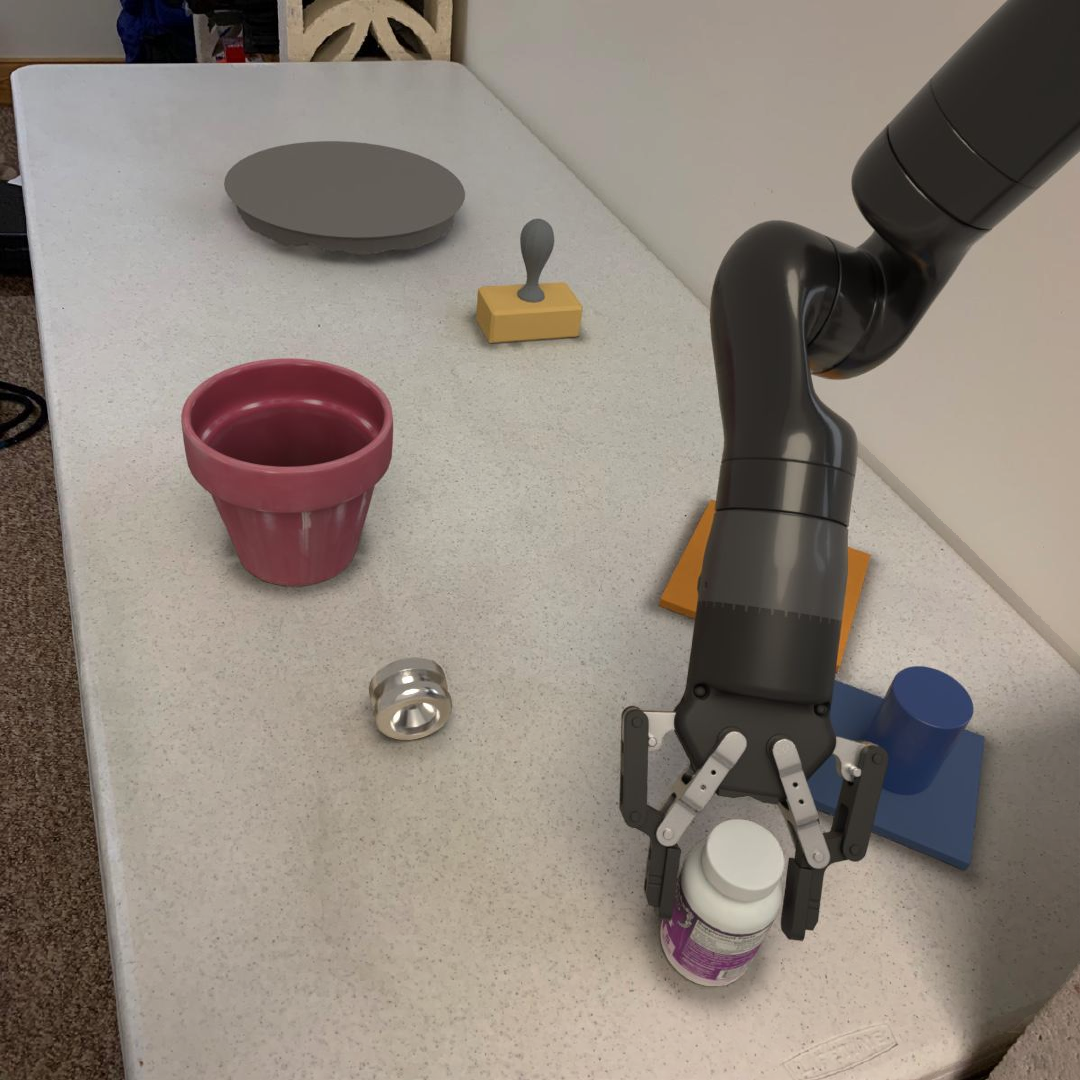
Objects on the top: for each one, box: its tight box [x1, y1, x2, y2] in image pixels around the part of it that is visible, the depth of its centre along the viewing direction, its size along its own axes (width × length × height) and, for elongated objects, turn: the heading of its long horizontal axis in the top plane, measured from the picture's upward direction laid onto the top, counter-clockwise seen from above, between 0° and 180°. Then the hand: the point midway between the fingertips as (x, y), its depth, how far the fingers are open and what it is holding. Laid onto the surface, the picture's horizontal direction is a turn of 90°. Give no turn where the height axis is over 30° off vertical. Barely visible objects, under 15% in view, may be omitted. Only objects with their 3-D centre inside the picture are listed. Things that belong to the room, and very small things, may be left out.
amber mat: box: [658, 499, 872, 674], centre depth 79 cm, size 14×14×1 cm
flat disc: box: [223, 140, 466, 256], centre depth 119 cm, size 28×28×4 cm
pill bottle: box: [659, 818, 785, 987], centre depth 53 cm, size 5×5×10 cm
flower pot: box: [180, 357, 394, 587], centre depth 73 cm, size 14×14×13 cm
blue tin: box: [862, 665, 974, 795], centre depth 64 cm, size 5×5×7 cm
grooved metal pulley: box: [368, 657, 453, 741], centre depth 64 cm, size 5×3×5 cm, turn 105°
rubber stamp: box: [475, 218, 584, 344], centre depth 102 cm, size 10×6×12 cm, turn 108°
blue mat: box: [807, 679, 985, 871], centre depth 66 cm, size 11×11×1 cm
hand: (727, 924), depth 51 cm, fingers open, 6 cm apart
